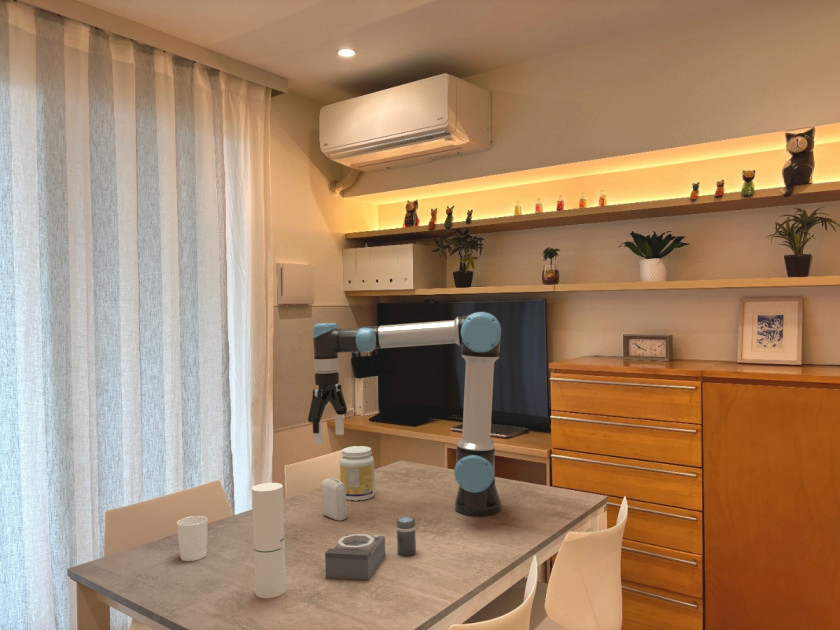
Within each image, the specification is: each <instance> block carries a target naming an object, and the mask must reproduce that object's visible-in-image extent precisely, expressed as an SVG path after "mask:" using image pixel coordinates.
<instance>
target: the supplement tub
mask: <svg viewBox="0 0 840 630" xmlns="http://www.w3.org/2000/svg"><path fill="white" fill-rule="evenodd" d="M371 454H373V453H372V447H370V446H366V445H365V446H364V445H359V446H358V445H357V446H355V445H354V446H348V447H345V448H343V449H342V450H341V456H342V457H341V458H340V459H339V471H340V476H339V477H340V478H339V480H340V481H341V482H342V483H343V484H344V485H345V488H346V501H351V500H353V502H356V501H357V502H359V501H358V500H360V501H366V500H369V499H372V498H373V497H374V495H375V494H376V493H375V492H376V488H375V487H376V486H375V484H376V483H375V479H376V478H375V459H374V457H373V456H372V455H371Z"/></svg>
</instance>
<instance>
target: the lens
mask: <svg viewBox="0 0 840 630" xmlns="http://www.w3.org/2000/svg"><path fill="white" fill-rule="evenodd" d="M416 538H417V537H416V519H415V518H414V517H412V516H402V517H398V518H397V519H396V544H397V548H396V549H397V550H396V551H397V555H398V556H400V557H406V558H408V557H412V556H414V555H416V553H417V547H416V546H417V545H416V544H417V543H416V542H417V541H416Z"/></svg>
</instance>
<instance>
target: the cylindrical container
mask: <svg viewBox="0 0 840 630" xmlns="http://www.w3.org/2000/svg"><path fill="white" fill-rule="evenodd" d="M283 487H284V485H283V484H282V483H280V482H265V483H264V482H263V483H259V484H256V485H254V486H252V487H251V499H252V500H251V502H252V503H251V504H252V505H251V506H252V507H251V508H252V530H253V531H252V532H253V534H252V535H253V555H254V557H253V559H254V561H253V562H254V564H253V565H254V584H255V585H254V588H255V589H254V590H255V591H254V593H255V596H256V597H258V598H260V599H273V598H277V597H281V596H283V595H284V594H285V593H286V592H287V574H286V572H287V571H286V549H285V548H286V547H285V546H286V544H285V543H286V542H285V515H284V514H285V513H284V488H283Z"/></svg>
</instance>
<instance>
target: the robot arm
mask: <svg viewBox="0 0 840 630" xmlns="http://www.w3.org/2000/svg"><path fill="white" fill-rule="evenodd" d="M312 330H313V333H312V334H313V337H312V340H313V342H312V343H313V357H314V358H313V359H314V361H313V364H314V371H315V372H316V373H314V385H316V386H318V389H313V390H312V397H311V403H310V408H309V412H308V417H307V421H308V423H311V424H312V433H313V436H312V439H313V444H314V445H315V444H317V445H322V444H323V425H322V424H323V423H322V421H321V420H322V417H323V413H324V410H325V408H326V405H328V403H330V405H332V406H331V407H332V408H333V409H334V411H335V413H336V414H334V426H335V435H336V436H344V435H345V425H344V423H345V422H344V421H345V420H344V419H345V418H344V415H347V413H348V412H347V411H348V407H347V404H346V400H345V397H344V393H343V391H342V384H339V383H340V375H339V372H338V371H339V369H340V368H339V353H341V354H342V353H362V354H363V353H371V352H373V351H374V350H376V349H377V350H378V349H389V348H391V349H392V348H402V347H403V348H405V347H418V346H432V345H433V346H434V345H436V346H437V345H445V344H446V345H448V344H449V345H450V344H456V345H458V346H459V347H461V351H460V352H461V353H460V354H461V355H460V356H461V357H462V358H463V359H464V360H465V371H464V372H465V373H464V375H465V376H464V394H463V396H464V397H463V413H462V414H463V416H462V433H461V434H462V436H461V439H459V440H458V442H457V444H456V457H455V466H454V471H453V475H454V478H455V481H456V483H457V485H459V487H458V490H457V492H456V493H457V494H456V497H455V500H454V509H455V511H456V512H457V513H459V514H462V515H466V516H473V517H485V516H491V515H494V514H498V513H499V512H501V510H502V501H501V498H500V495H499V493H498V488H497V485H496V470H495V469H496V467H495V456H496V455H495V452H496V446H495V442H494V440H493V439H491V432H492V430H491V429H492V416H493V415H492V412H493V396H494V395H493V391H494V373H495V371H494V370H495V363H496V361H497V360H499V359H500V351H501V350H500V349H501V336H502V327H501V323H500V322H499V320H498V318H497V317H496V316H495V315H493V314H492V313H489V312H487V311H475V312H473V313H471V314H469V315H462V316H456V317H455V319H454V320H452V319H451V320H439V321H427V322H413V323H412V322H411V323H399V324H386V325H375V326H374V325H373V326H369V325H368V326H362V327H356V328H355V327H354V328H338V325H337V323H335V322H324V323H323V322H322V323H315V324H314V325H313V329H312Z"/></svg>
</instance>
